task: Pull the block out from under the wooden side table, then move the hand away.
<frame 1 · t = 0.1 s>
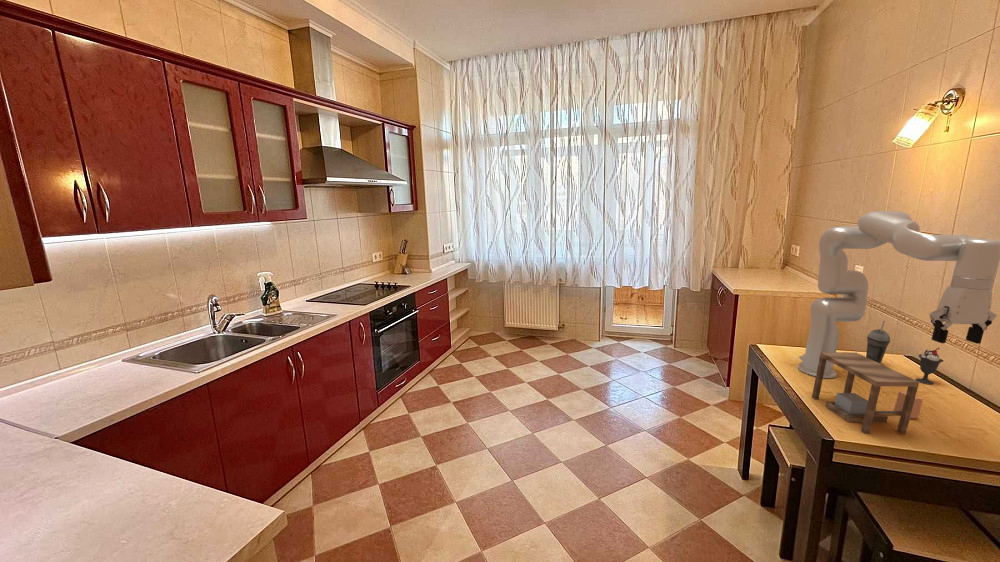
hand: (955, 341, 114), 31 cm above the table, tool pointing down, fingers open, 9 cm apart
beverage cup: (872, 364, 173), on the table
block: (877, 404, 133), point 4 cm above the table, slide at 0.0 cm
sundae: (924, 382, 157), on the table
wooden side table: (855, 414, 134), on the table
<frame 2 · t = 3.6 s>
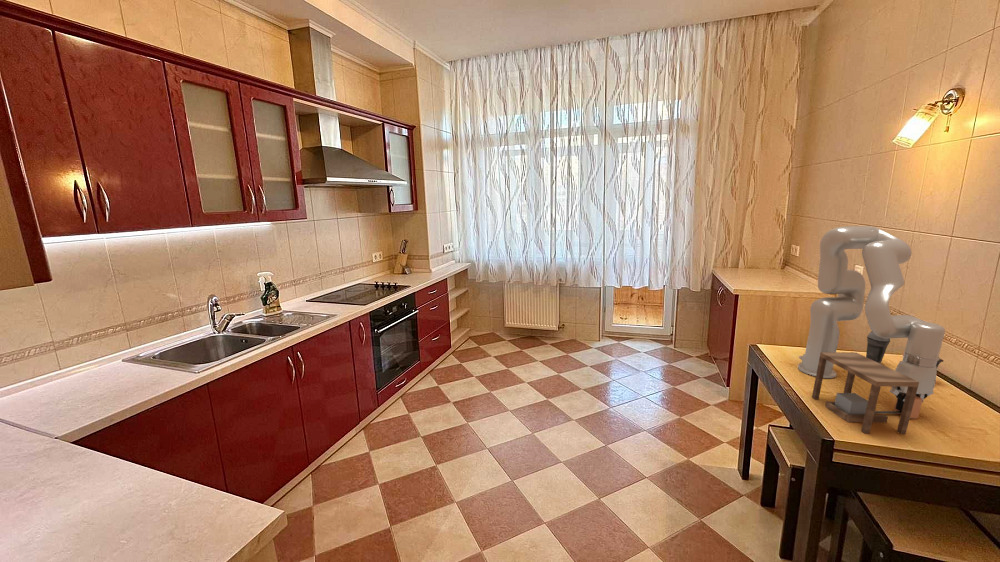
hand: (906, 410, 134), 2 cm above the table, tool pointing down, fingers closed on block, 3 cm apart
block: (877, 404, 133), point 4 cm above the table, slide at 0.0 cm, touching gripper
everything else where it was.
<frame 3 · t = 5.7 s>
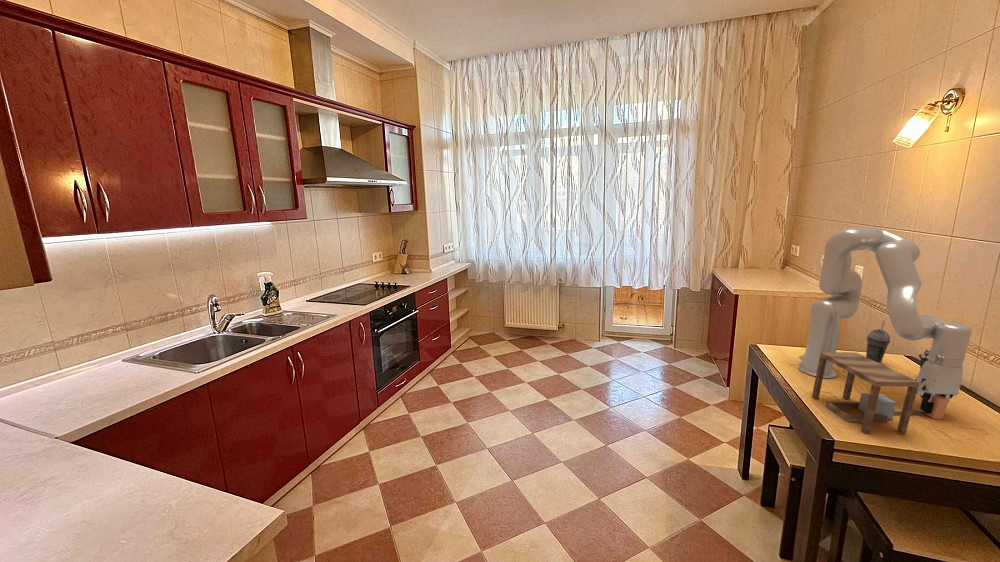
hand: (931, 410, 133), 2 cm above the table, tool pointing down, fingers closed on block, 3 cm apart
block: (902, 404, 133), point 4 cm above the table, slide at 8.2 cm, touching gripper
everything else where it was.
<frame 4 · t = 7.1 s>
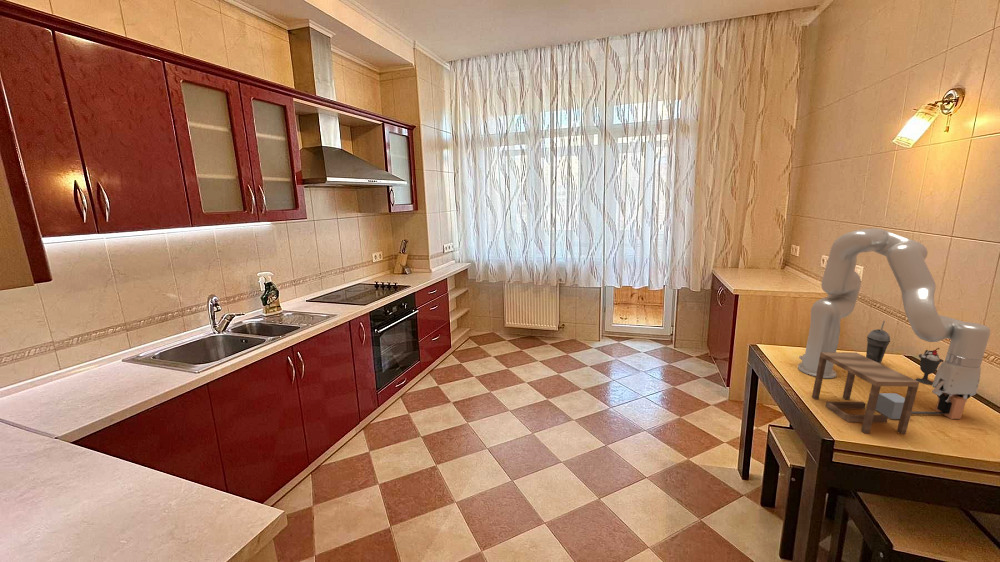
hand: (948, 411, 133), 2 cm above the table, tool pointing down, fingers closed on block, 3 cm apart
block: (919, 404, 133), point 4 cm above the table, slide at 13.9 cm, touching gripper
everything else where it was.
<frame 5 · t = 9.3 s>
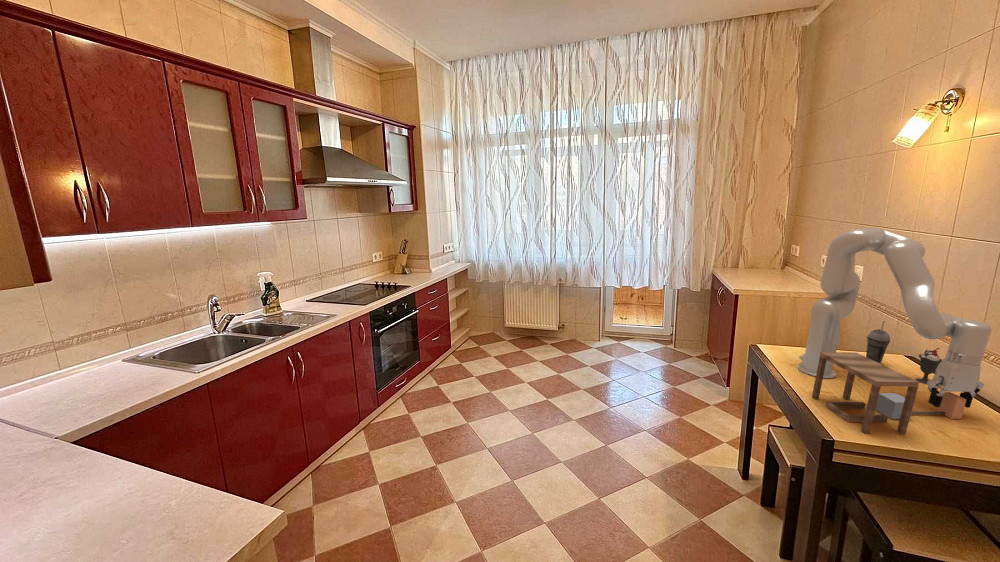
hand: (948, 405, 133), 3 cm above the table, tool pointing down, fingers open, 9 cm apart
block: (920, 404, 133), point 4 cm above the table, slide at 14.0 cm
everything else where it was.
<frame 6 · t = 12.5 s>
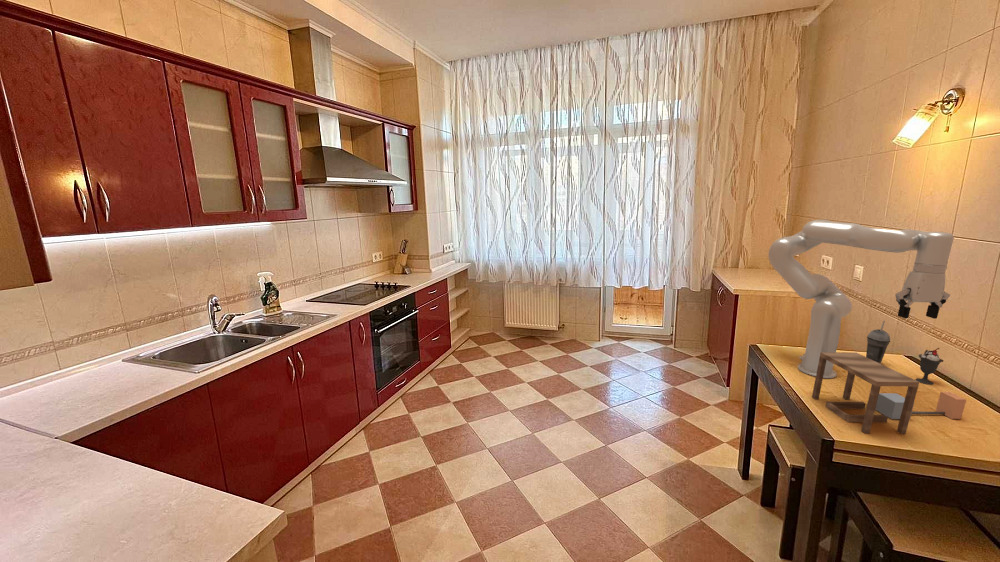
hand: (916, 317, 139), 30 cm above the table, tool pointing down, fingers open, 9 cm apart
nothing on the table moved.
at the end: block slide at 14.0 cm; the gripper is holding nothing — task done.
